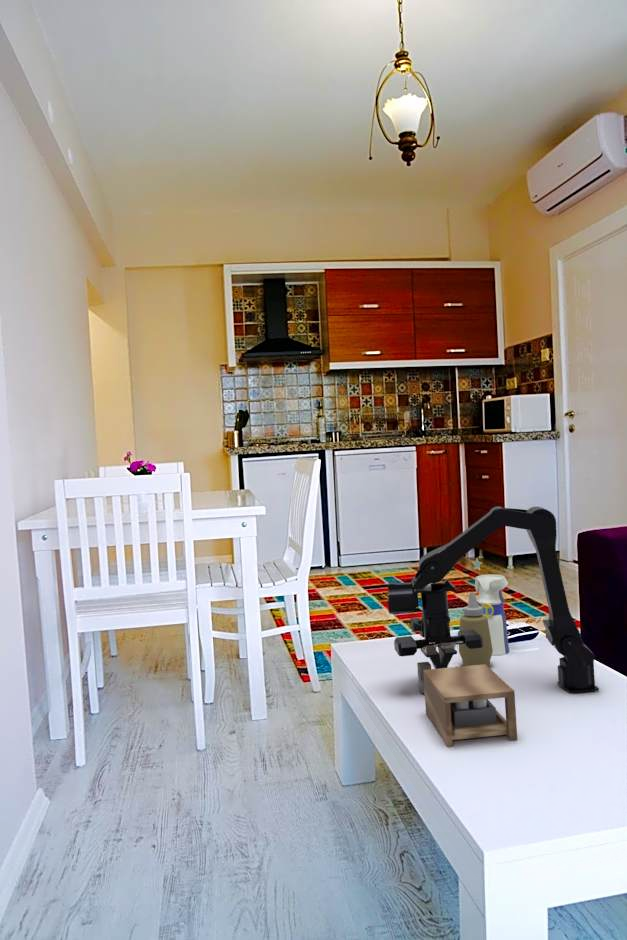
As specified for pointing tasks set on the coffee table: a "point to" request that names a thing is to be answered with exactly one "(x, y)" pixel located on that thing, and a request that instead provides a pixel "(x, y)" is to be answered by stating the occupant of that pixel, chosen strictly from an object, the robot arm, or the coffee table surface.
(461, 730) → the shallow wooden box
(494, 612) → the spray bottle
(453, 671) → the wooden stand
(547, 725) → the coffee table surface
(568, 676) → the robot arm
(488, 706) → the tray
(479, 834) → the coffee table surface
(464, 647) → the squeeze bottle
